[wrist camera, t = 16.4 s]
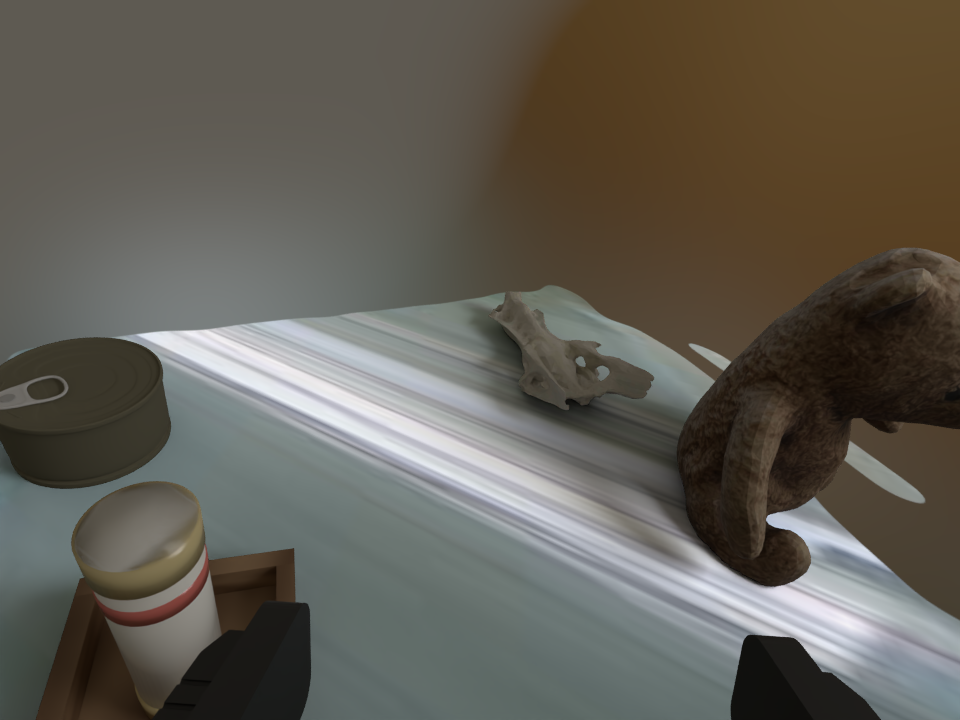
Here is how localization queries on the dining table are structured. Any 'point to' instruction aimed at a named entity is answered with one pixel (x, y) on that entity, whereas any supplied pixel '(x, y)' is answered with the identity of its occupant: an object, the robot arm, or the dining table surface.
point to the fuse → (150, 581)
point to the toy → (819, 402)
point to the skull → (564, 361)
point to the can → (82, 411)
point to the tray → (98, 661)
